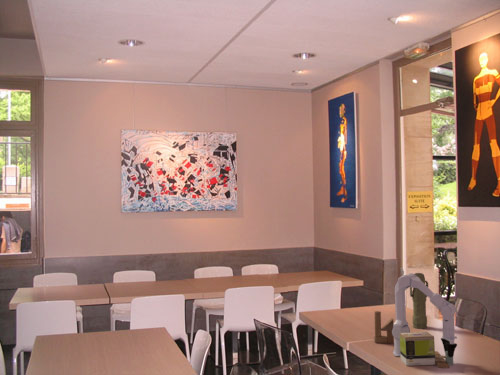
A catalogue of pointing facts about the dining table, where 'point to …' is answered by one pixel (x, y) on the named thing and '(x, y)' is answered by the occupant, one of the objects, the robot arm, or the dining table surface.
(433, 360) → the tea box
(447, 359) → the grey-green block
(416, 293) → the thermos
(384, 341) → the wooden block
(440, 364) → the walnut board
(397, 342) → the robot arm
